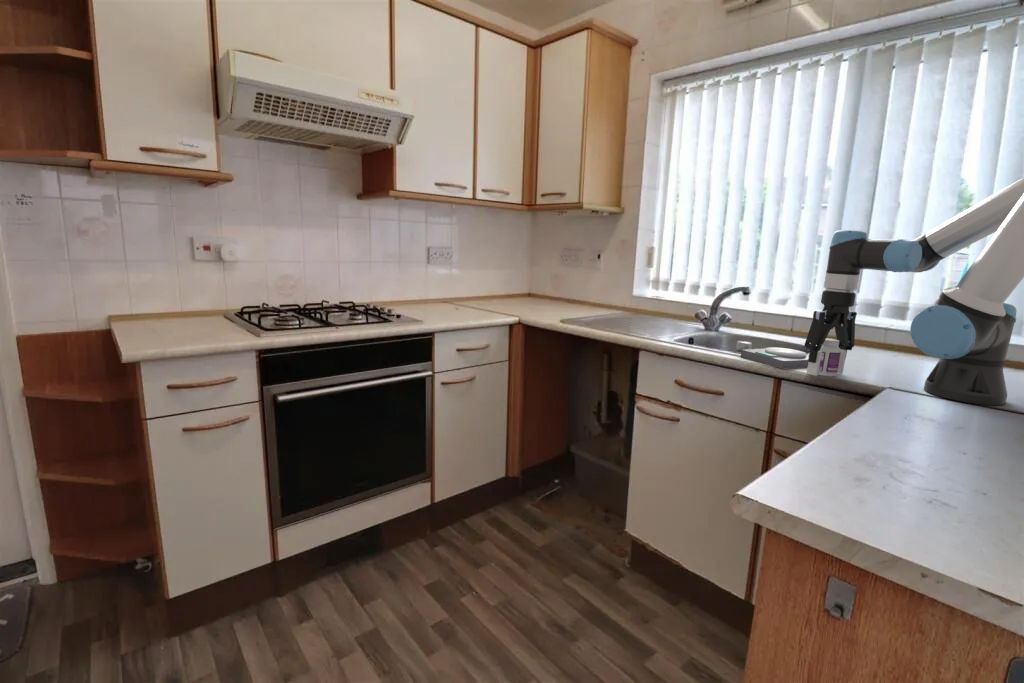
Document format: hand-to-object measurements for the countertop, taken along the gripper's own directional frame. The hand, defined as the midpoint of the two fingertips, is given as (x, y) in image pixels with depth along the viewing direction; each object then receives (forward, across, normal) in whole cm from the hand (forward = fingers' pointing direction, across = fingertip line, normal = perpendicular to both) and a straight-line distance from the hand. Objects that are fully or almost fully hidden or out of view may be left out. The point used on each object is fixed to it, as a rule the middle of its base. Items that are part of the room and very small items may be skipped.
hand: (824, 373), depth 141 cm
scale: (0, -1, -15) cm, 15 cm away
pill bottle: (0, 0, 0) cm, 1 cm away
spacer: (0, -1, -29) cm, 29 cm away
